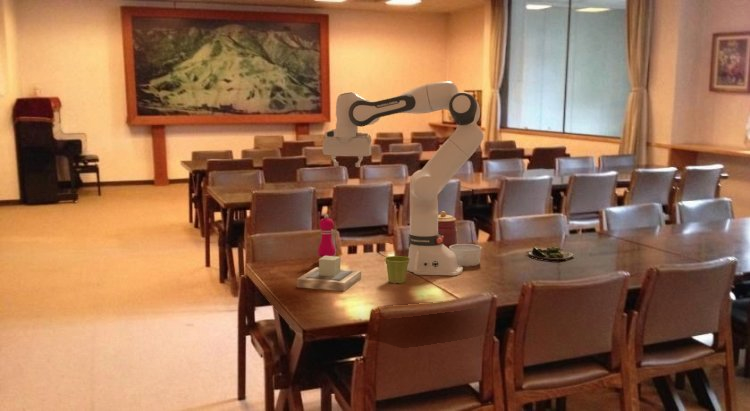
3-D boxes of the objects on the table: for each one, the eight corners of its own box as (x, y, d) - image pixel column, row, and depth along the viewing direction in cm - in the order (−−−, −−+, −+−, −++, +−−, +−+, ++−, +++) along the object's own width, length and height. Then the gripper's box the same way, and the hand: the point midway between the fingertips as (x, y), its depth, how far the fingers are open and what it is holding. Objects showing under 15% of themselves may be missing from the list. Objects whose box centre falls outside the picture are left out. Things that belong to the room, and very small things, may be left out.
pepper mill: (336, 260, 283) (336, 213, 280) (334, 264, 276) (333, 215, 273) (319, 259, 283) (319, 212, 280) (316, 263, 276) (315, 215, 273)
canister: (422, 248, 305) (423, 210, 303) (447, 246, 311) (448, 208, 308) (437, 254, 294) (438, 214, 291) (462, 251, 299) (463, 212, 297)
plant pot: (394, 277, 256) (394, 254, 254) (414, 281, 250) (415, 258, 248) (379, 282, 248) (379, 259, 247) (399, 286, 243) (399, 262, 241)
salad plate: (545, 250, 304) (546, 240, 303) (581, 256, 291) (582, 246, 290) (520, 257, 290) (521, 246, 290) (557, 264, 278) (557, 253, 277)
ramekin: (444, 265, 275) (444, 248, 274) (456, 258, 286) (456, 242, 285) (475, 268, 269) (475, 251, 268) (486, 262, 280) (486, 245, 279)
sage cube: (340, 272, 249) (340, 256, 248) (334, 276, 243) (334, 260, 242) (325, 271, 251) (325, 255, 250) (319, 275, 245) (318, 259, 244)
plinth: (361, 278, 253) (360, 270, 253) (344, 291, 236) (344, 282, 236) (316, 274, 259) (316, 266, 258) (297, 287, 242) (297, 278, 241)
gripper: (373, 132, 275) (373, 166, 277) (326, 132, 281) (326, 165, 283) (368, 133, 269) (368, 168, 271) (320, 132, 275) (321, 166, 277)
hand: (346, 166), depth 277 cm, fingers open, 8 cm apart
